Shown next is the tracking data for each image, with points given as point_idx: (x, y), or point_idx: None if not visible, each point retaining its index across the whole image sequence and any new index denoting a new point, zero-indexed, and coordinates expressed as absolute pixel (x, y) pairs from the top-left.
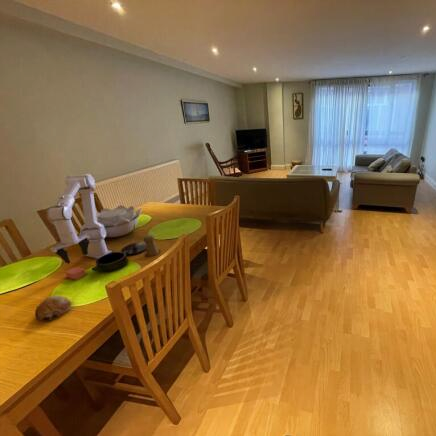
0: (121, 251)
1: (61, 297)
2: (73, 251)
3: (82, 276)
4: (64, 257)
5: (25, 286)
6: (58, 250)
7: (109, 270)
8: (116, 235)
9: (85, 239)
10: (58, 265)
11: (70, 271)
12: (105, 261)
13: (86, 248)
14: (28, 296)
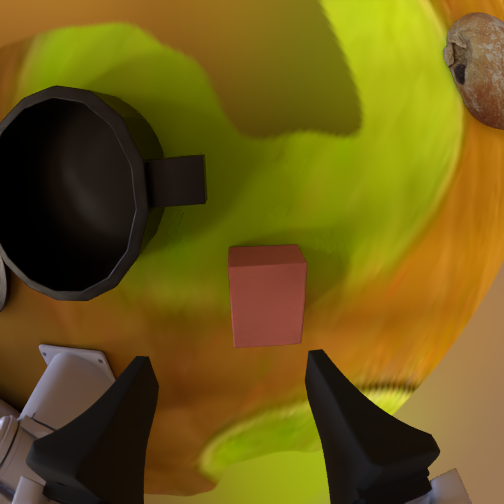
0: (4, 289)
1: (501, 36)
2: (152, 459)
3: (256, 246)
4: (368, 402)
5: (383, 386)
6: (419, 491)
7: (136, 114)
8: (7, 410)
9: (57, 497)
10: (235, 433)
11: (286, 325)
12: (87, 267)
13: (107, 404)
14: (439, 305)
